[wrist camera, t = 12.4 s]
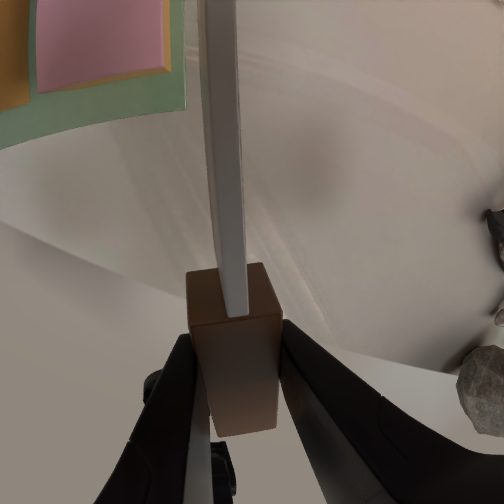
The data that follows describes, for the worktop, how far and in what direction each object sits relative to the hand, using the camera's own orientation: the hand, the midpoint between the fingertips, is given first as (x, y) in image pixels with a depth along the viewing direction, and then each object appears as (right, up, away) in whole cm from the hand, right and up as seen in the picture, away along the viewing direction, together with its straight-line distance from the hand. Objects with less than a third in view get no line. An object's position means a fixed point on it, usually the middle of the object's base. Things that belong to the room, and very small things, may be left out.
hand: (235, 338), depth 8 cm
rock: (+33, -22, +21) cm, 45 cm away
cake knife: (0, +2, 0) cm, 2 cm away
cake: (-4, +11, -1) cm, 12 cm away
